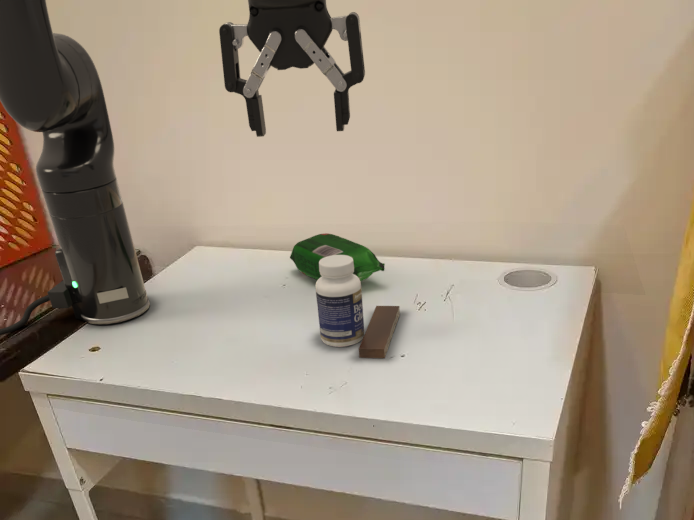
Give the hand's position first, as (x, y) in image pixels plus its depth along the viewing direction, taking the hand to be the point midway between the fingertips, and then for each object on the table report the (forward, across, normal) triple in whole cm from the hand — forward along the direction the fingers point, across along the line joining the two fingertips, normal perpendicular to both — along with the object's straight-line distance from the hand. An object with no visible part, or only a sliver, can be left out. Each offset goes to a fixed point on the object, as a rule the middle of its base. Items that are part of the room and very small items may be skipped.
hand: (300, 132), depth 77 cm
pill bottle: (+23, -3, +2) cm, 23 cm away
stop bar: (+23, -8, +2) cm, 24 cm away
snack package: (+23, -1, -17) cm, 29 cm away
